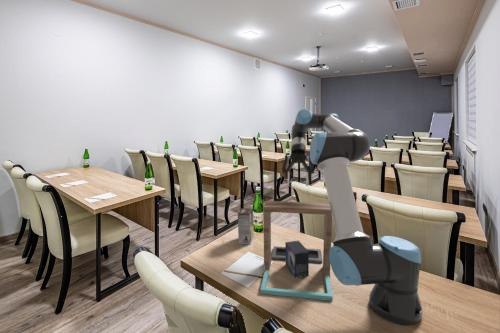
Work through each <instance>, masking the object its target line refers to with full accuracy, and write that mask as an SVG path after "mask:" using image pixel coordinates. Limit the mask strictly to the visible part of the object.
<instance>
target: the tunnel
mask: <svg viewBox="0 0 500 333" xmlns="http://www.w3.org/2000/svg"><path fill="white" fill-rule="evenodd" d="M262 212H263V272H265V270H269V271H270V269H271V264H272V226H271V225H272V217H271V216H272V214H271V213H281V214H282V213H283V214H303V215H304V214H305V215H307V214H308V215H324V222H323V252H322V254H323V256H322V269H323V277H324V278H325V275H329V279H331V264H330V260H329V256H330V255H329V250H330V248H331V247H332V231H333V230H332V228H333V218H332V213H331V208H330V204H329V202H310V201H309V202H306V201H305V202H303V201H282V200H279V201H277V200H266V201H265V202H264V205H263V210H262Z"/></svg>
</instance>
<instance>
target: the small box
mask: <svg viewBox="0 0 500 333" xmlns="http://www.w3.org/2000/svg"><path fill="white" fill-rule="evenodd" d="M285 247H286V260H285V266H286V267H287V269H288V270H289V271H290V273H291V274H292V276H293V277H294V279H295V278H302V277H307V276H309V274H310V273H309V272H310V270H309V268H310V267H309V263H310V262H309V251H308V250H307V249H308V248H306V247H305V245H303V244H302V242H300V240H292V241H286V242H285Z"/></svg>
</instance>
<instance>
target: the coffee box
mask: <svg viewBox="0 0 500 333" xmlns="http://www.w3.org/2000/svg"><path fill="white" fill-rule="evenodd" d="M254 226H255V225H254V208H245V207H244V208H242V207H241V209H240V210H239V212H238V213H237V229H238V230H237V231H238V232H237V233H238V234H237V236H238V237H237V239H238V244H240V245H242V244H243V245H251V244H252V242H253V240H254V232H255V231H254Z"/></svg>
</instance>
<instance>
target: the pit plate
mask: <svg viewBox="0 0 500 333" xmlns="http://www.w3.org/2000/svg"><path fill="white" fill-rule="evenodd" d="M272 249H273V250H272V252H271V260H278V261H279V260H280V261H286V246H273V248H272ZM306 249H307V250H308V251H309V263H317V264H323V256H322V250H321V249H318V248H317V249H316V248H306Z"/></svg>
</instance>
